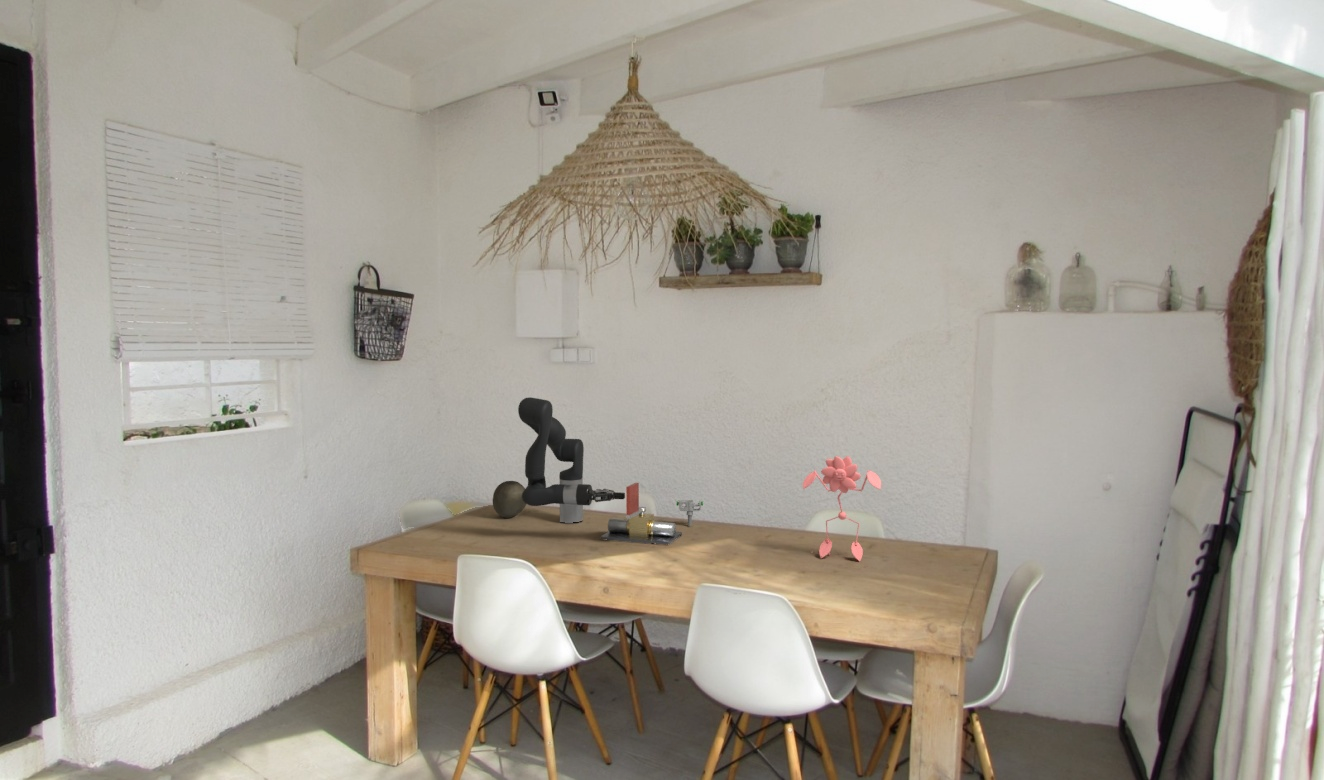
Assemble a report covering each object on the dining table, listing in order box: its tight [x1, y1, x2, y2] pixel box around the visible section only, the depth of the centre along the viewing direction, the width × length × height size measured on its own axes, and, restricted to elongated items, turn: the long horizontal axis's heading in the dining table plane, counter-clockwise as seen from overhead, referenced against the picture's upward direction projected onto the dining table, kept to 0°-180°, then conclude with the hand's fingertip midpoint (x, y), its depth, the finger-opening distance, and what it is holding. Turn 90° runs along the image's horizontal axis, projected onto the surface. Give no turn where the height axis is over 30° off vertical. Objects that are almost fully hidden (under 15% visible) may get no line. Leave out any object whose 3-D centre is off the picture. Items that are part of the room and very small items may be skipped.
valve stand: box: [600, 512, 683, 546], centre depth 306 cm, size 26×16×10 cm, turn 71°
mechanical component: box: [676, 499, 704, 527], centre depth 324 cm, size 3×10×10 cm, turn 89°
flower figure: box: [802, 455, 882, 562], centre depth 271 cm, size 15×26×35 cm, turn 68°
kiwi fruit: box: [492, 480, 527, 519], centre depth 340 cm, size 14×14×15 cm
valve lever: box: [625, 482, 647, 519], centre depth 299 cm, size 3×15×11 cm, turn 161°
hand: (624, 495), depth 297 cm, fingers closed
